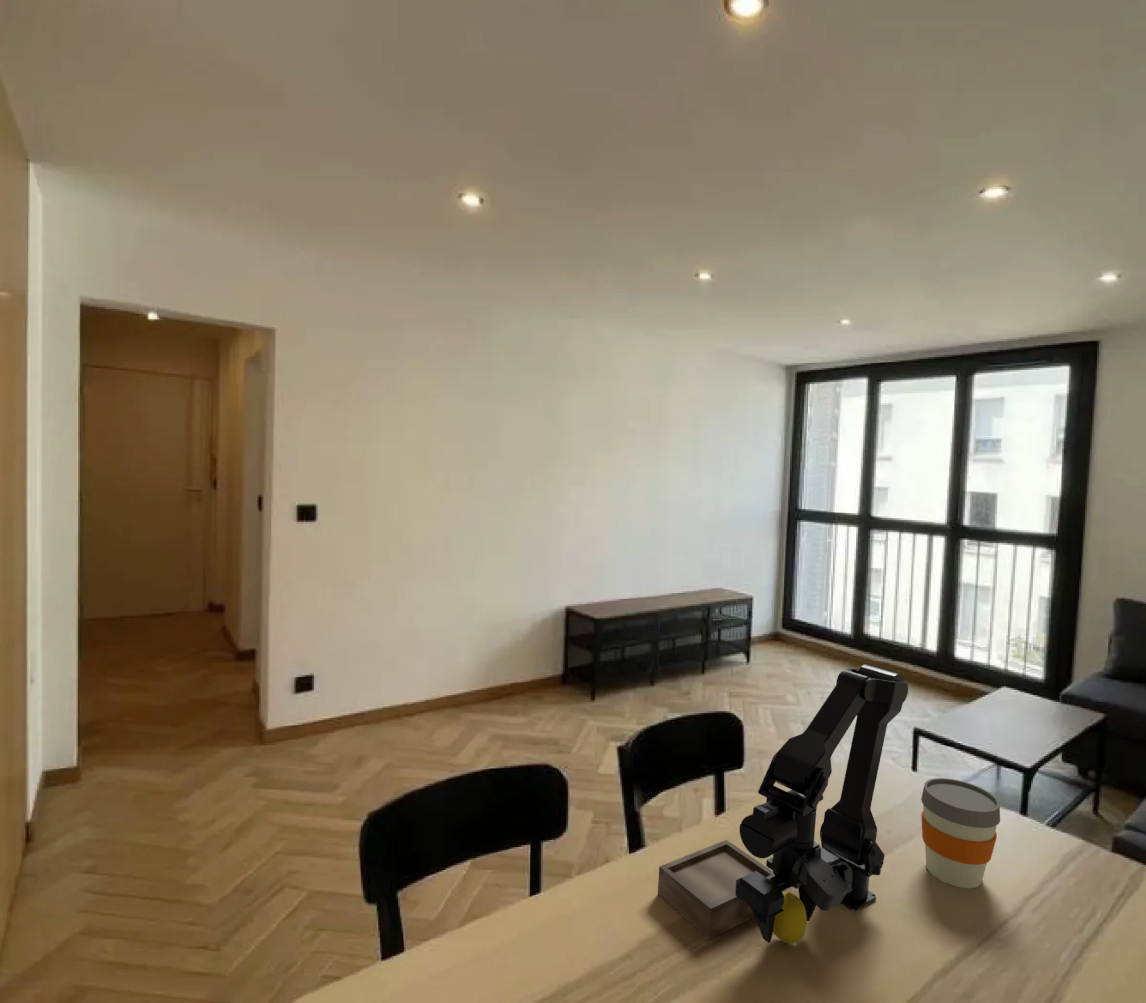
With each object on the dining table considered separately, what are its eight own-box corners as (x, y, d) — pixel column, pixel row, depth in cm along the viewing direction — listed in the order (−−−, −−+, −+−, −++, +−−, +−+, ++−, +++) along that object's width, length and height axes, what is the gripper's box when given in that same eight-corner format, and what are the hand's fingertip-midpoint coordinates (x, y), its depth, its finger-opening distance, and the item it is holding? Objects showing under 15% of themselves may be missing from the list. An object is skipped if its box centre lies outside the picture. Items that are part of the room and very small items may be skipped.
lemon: (807, 959, 101) (811, 908, 101) (768, 952, 102) (772, 901, 102) (802, 933, 107) (806, 885, 106) (765, 927, 108) (769, 879, 107)
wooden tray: (724, 866, 123) (726, 839, 123) (777, 904, 113) (779, 876, 113) (657, 894, 114) (659, 866, 114) (708, 939, 104) (710, 908, 104)
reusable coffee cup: (979, 904, 116) (987, 820, 115) (903, 868, 125) (911, 790, 124) (1003, 876, 124) (1011, 798, 123) (931, 844, 133) (938, 771, 132)
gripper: (798, 882, 91) (790, 990, 93) (879, 842, 102) (870, 941, 103) (736, 840, 100) (729, 939, 102) (816, 808, 111) (808, 898, 112)
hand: (786, 930), depth 104 cm, fingers open, 9 cm apart
